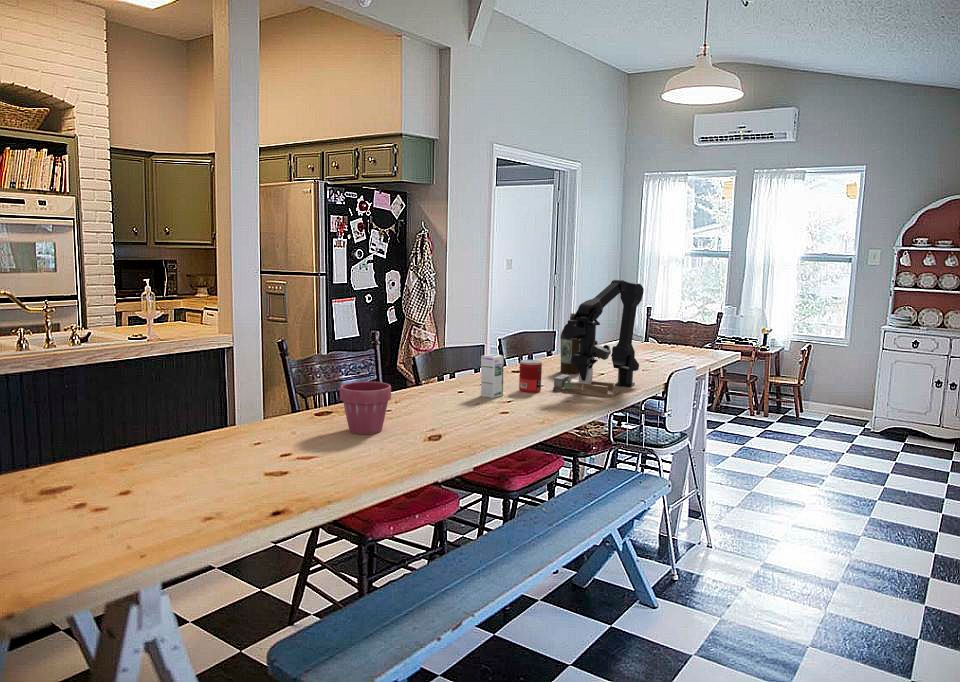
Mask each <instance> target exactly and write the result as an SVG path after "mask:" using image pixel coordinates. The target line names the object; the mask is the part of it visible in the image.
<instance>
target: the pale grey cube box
mask: <svg viewBox="0 0 960 682" xmlns="http://www.w3.org/2000/svg"><path fill="white" fill-rule="evenodd" d="M593 373H594V368H593V367H592V368H588V370H587V375H586V379H585V381H582V379H581V376H580V374H578V379H579V380H576V379H577V378H574V379H572V378H570V379H568V380H567V381H566V382H575V383H583V384H591V382H592V381H593Z"/></svg>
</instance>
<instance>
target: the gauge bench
mask: <svg viewBox="0 0 960 682" xmlns="http://www.w3.org/2000/svg"><path fill="white" fill-rule="evenodd" d="M568 379H576V380H579V378H573V377H572V378H571V374H564V373H562V374H560V375H558V376H555V377H554V379H553V387H552V388H553V389H552V391H553V390H555V391H554V392H562V391H563V392H564V393H570V392H572V393H571V394H578V393H580V394H581V395H587V394H588V395H589V396H595V395H597V396H596V397H603V396H606V397H605V398H614V396H616V395H618V394H619V393H620V389H618V388H616V389H615V382H608V381H601V380H600V381H599V380H592V382H591V384H583V383H575V382H566V381H567V380H568ZM563 392H562V393H563ZM617 393H618V394H617ZM588 395H587V396H588Z"/></svg>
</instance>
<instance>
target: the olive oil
mask: <svg viewBox="0 0 960 682" xmlns="http://www.w3.org/2000/svg"><path fill="white" fill-rule="evenodd" d="M575 314H576V312H574V313H573V312H572V313H570V317H569V320H572V319H573V317H574V315H575ZM559 338H560V373H562V372H563V373H562V374H566V373H568V374H567V375H579V371H578V369H577V367H576V365H575V364H574V363H571V357H572V356H573V355H575V354H577V352H578V351H579V343H578V340H580V338H579V339H566V338H565V336H564V334H563V329H562V331H561V333H560V337H559Z"/></svg>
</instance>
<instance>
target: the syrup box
mask: <svg viewBox="0 0 960 682" xmlns="http://www.w3.org/2000/svg"><path fill="white" fill-rule="evenodd" d="M480 357H481V358H480V360H481V361H480V362H481V363H480V396H481V397H485V398H488V399H489V398H491V399H495V398H498V397H503V395H504V355H502V354H498V353H497V354H495V353H494V354H491V353H490V354H486V355H485V354H484V355H481V356H480Z"/></svg>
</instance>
